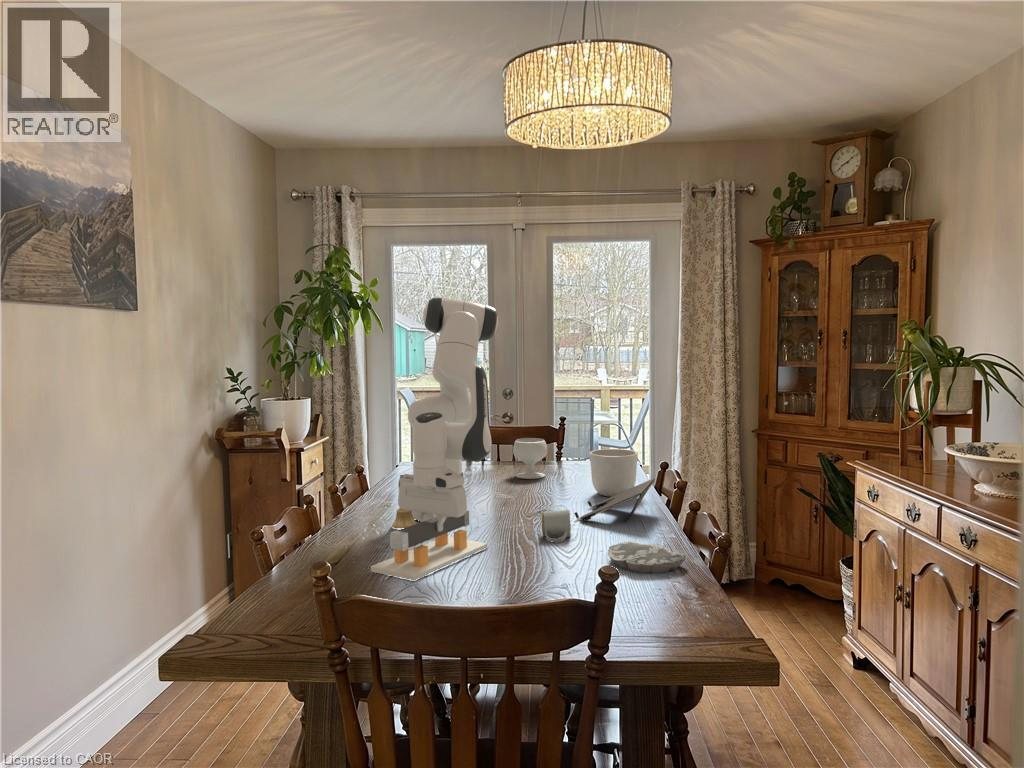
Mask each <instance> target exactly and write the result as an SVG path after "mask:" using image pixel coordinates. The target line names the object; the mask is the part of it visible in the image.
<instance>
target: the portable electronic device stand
mask: <svg viewBox="0 0 1024 768" xmlns="http://www.w3.org/2000/svg"><path fill="white" fill-rule="evenodd" d="M654 481H655V478H651V479H649V480H647V481H644V482H642V483H640V484H636V485H635V486H634V487H633V488H630V489H628V490H626V491H623V492H621V493H619V494H617V495H615V496H612V497H608V498H606V499H604V500H601V501H599V502H597V503H595V504H594V505H593V504H592V502H591V500H588V501H587V504H588V506H589V507H590V509H591V508H596V509H593V510H592V511H590V512H587V513H585V514H584V515H581V516H579V514H578V512H577V511H576V512H574V513H573V514H574V516H575V518H576V520H577V521H579V520H582V521H585V522H588V521H589V520H591V519H592V518H593V517H594V516H596V515H598V514H601V513H603V512H605V511H608V510H610V509H612V508H615V507H616V506H620V505H621V504H624V503H626V502H627V501H630V500H633V499H635V498H637V497H638V498H637V500H636V502H635V504H634V506H633V508H632V509H631V511H630V513H629V515H628V516H627V518H626V520H625V522H626V521H627V522H628V521H629V520H630V519H631V517H633V515H634V513H635V512H636V510H637V508H638V507H639V505H640V503H642V500H643V498H645V496H646V495H647V493H648V491H649V490H650V488H651V486H652V485H653V483H654Z"/></svg>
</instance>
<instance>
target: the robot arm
mask: <svg viewBox="0 0 1024 768" xmlns="http://www.w3.org/2000/svg"><path fill="white" fill-rule="evenodd" d="M422 313H423V315H422V319H423V324H424V327H425V328H426V330H427V331H429V332H431V333H433V334H439V336H438V339H437V343H436V349H435V354H434V360H433V365H432V372H431V373H432V376H433V378H434V380H435V382H438V383H439V389H440V392H439V395H435V396H432V395H431V396H426V397H422V398H420V399H417V400H414V401H413V402H411V404H410V405H409V407H408V409H407V421H408V423H409V425H410V427H411V428H412V438H411V439H412V442H411V443H412V446H411V449H412V451H413V463H412V474H409V473H404V474H402V475H403V476H402V477H401V478H400V477H399V479H400V487H399V486H398V495H397V496H398V497H397V504H398V507H399V508H400V509H404V510H411V511H412V516H413V519H416V520H419V521H420V522H423V521H426V520H429V519H432V518H435V517H437V518H438V519H439V521H438V523H437V524H435V525H434V527H435V531H438V532H440V531H443V524H444V522H445V520H446V518H447V516H450V517H460V516H463V515H464V514H465V513H466V511H467V510H468V502H467V500H468V499H467V493H466V489H465V487H464V484H465V477H464V472H463V463H462V462H463V461H469V462H475V463H478V462H481V461H482V460H483V459H485V458H486V457H487V456H488V455H490V452H491V451H492V447H493V445H492V442H493V441H492V432H491V425H490V413H489V412H490V406H489V403H490V402H489V388H488V377H487V373H486V371H485V369H484V367H482V366H481V365H480V363H479V362H478V351H479V344H480V342H483V341H489V340H490V339H492V338H493V337H494V336H495V334H496V332H497V330H498V327H499V316H498V312H497V310H496V308H494V307H492V306H490V305H488V304H485V305H484V304H481V303H476V302H475V301H468V300H461V299H454V298H453V299H449V298H443V297H432V298H431V299H430V300H428V302H427V304H426V305H425V308H424V309H423V311H422ZM403 477H404V478H403ZM419 521H418V522H419ZM420 522H419V523H420Z"/></svg>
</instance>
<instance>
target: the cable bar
mask: <svg viewBox="0 0 1024 768" xmlns="http://www.w3.org/2000/svg"><path fill="white" fill-rule="evenodd" d="M438 521H439V519H438V518H437V517H435V518H432V519H429V520H426V521H423V522H417V524H415V525H412V526H409V527H406V528H404V529H401V530H393V531H390V532H389V545H390V550H394V549H395V550H400V551H404V550H407V549H408V550H409V548H411V547H414V546H415V547H416V546H417V545H419V544H420V545H421V544H422V543H424V542H428V541H430V540H433V539H435V537H438V536H440V535H443V534H445V533H450V532H454V531H455V530H458V529H460V528H463V527H464V528H465V527H468V526H469V525H470V510H469V509H467V511H466V513H465V514H464V515H463V516H460V517H450V516H447V518H446V520H445V522H444V524H443V531H440V532H438V531H435V527H434V525H435V524H437V523H438Z"/></svg>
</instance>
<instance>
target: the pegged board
mask: <svg viewBox="0 0 1024 768" xmlns="http://www.w3.org/2000/svg"><path fill="white" fill-rule="evenodd" d="M448 533H449V532H448ZM448 533H445V534H443V535H440V536H438V537H435V538H434V541H431V542H429V543H426V544H420V545H418V546H415V547H413V549H411V550H409V548H408V549H407V550H404V551H400V550H395V549H393V551H394V556H393V557H391V558H388V559H385V560H384V561H381V562H378V563H376V564H373V565H371V566H370V572H371V571H373V572H377V573H382V574H387V575H392V576H397V577H402V578H406V579H411V580H416V579H418V578H421V577H423V576H425V575H427V574H429V573H431V572H433V571H435V570H437V569H440V568H442V567H444V566H446V565H448V564H450V563H452V562H455V561H457V560H459V559H461V558H464V557H466V556H469V555H471V554H473V553H475V552H477V551H479V550H482V549H484V548H486V547H487V548H488V542H487V543H486V542H481V541H475V540H469V539H468V535H467V534H468V533H467V530H465V529H459V530H458V529H457V531H453V536H449V534H448Z"/></svg>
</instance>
